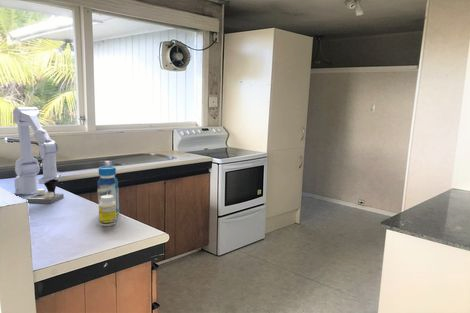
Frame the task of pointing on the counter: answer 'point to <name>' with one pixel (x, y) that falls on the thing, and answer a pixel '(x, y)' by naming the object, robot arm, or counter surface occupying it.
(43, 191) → the switch tab
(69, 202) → the counter surface
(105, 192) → the beverage bottle
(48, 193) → the switch tab
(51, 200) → the switch panel
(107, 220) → the pill bottle
